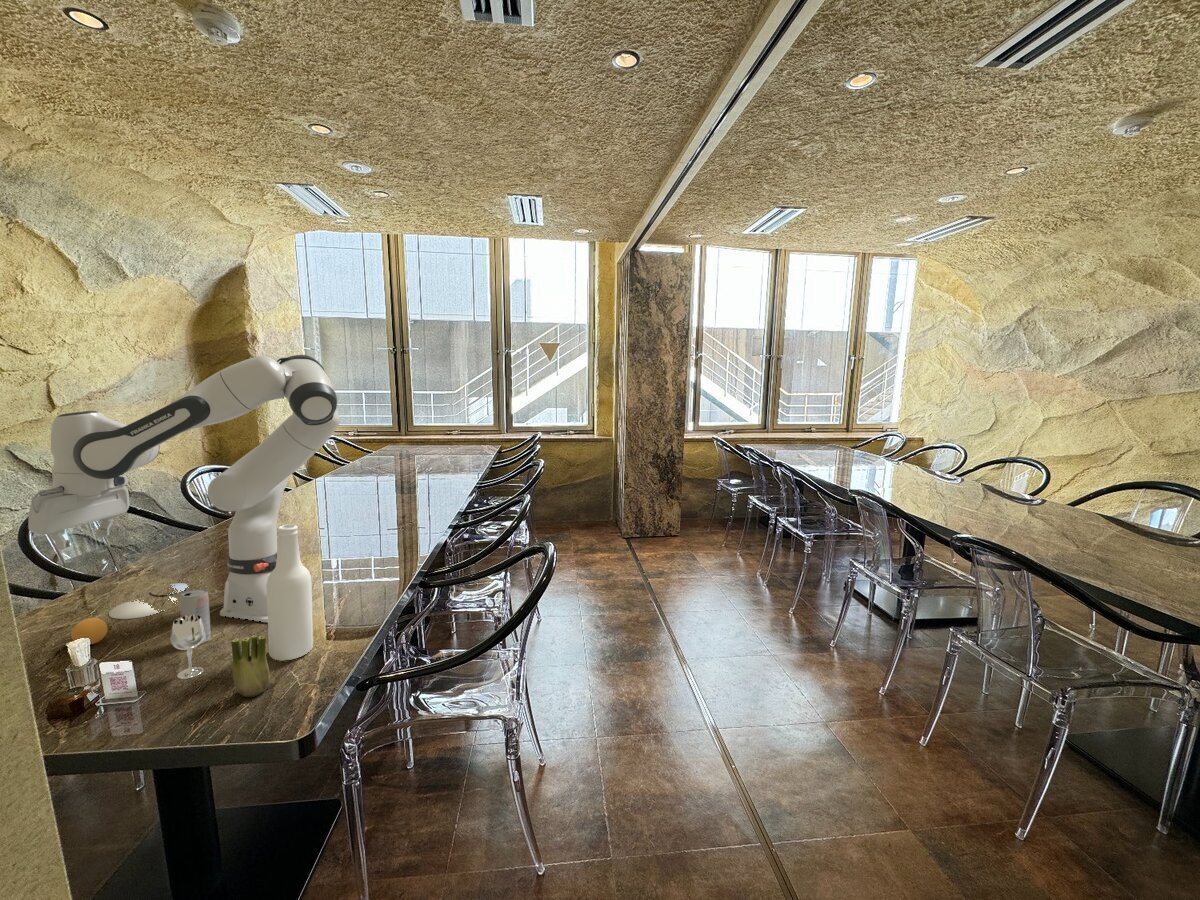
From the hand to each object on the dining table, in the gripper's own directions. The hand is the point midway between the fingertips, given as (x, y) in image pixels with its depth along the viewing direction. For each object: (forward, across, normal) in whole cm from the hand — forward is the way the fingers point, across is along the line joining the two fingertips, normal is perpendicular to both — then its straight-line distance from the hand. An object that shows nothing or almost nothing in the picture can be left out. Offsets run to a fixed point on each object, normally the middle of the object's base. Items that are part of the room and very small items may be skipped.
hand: (83, 542), depth 120 cm
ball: (+21, -1, -2) cm, 21 cm away
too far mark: (+24, +30, +5) cm, 38 cm away
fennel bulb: (+22, -18, -50) cm, 57 cm away
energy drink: (+23, +2, -24) cm, 33 cm away
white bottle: (+22, -2, -48) cm, 53 cm away
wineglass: (+23, -12, -32) cm, 41 cm away
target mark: (+24, +18, +2) cm, 30 cm away
